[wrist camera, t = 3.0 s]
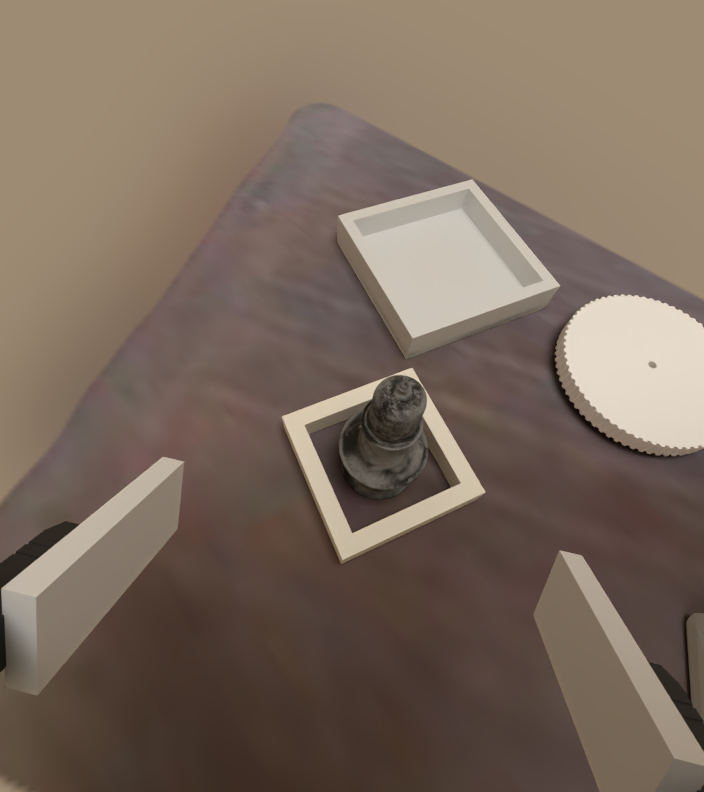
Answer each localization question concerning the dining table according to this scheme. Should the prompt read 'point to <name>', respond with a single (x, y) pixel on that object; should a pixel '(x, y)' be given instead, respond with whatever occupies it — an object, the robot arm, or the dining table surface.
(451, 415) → the dining table surface
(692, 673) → the electrical switch
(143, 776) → the dining table surface
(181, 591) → the dining table surface
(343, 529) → the socket collar
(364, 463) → the chess piece
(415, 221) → the parts tray
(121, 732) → the dining table surface
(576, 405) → the cream gear
